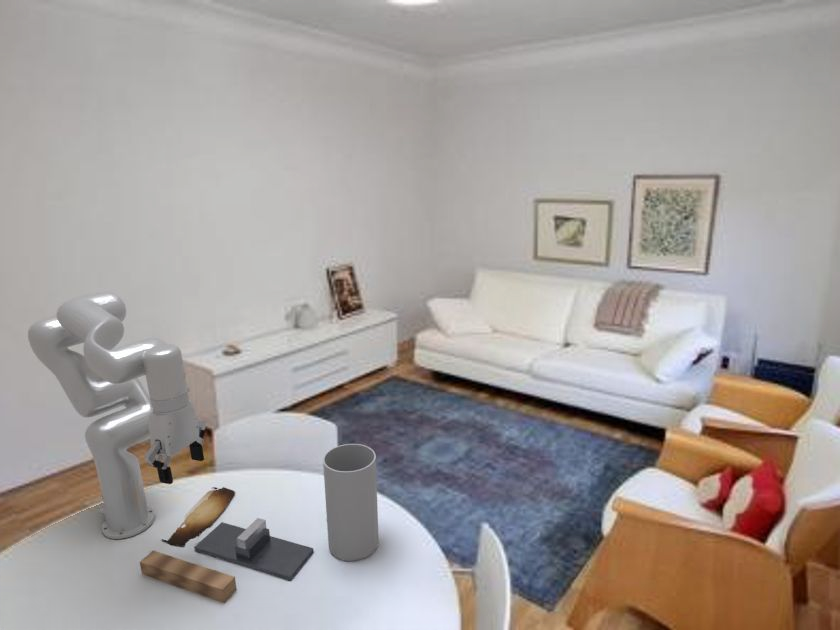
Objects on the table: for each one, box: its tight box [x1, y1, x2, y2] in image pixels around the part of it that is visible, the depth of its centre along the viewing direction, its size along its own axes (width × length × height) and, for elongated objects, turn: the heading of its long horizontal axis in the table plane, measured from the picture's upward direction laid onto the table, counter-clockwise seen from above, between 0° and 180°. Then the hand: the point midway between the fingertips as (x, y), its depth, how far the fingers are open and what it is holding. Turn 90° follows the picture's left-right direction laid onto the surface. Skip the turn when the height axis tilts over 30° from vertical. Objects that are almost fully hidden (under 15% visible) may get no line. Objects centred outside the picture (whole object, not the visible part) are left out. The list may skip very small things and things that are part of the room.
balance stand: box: [193, 517, 315, 582], centre depth 133 cm, size 28×10×7 cm, turn 69°
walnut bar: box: [139, 550, 238, 604], centre depth 124 cm, size 24×4×4 cm, turn 69°
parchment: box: [161, 486, 236, 547], centre depth 148 cm, size 25×10×1 cm, turn 168°
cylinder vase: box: [322, 443, 379, 562], centre depth 133 cm, size 12×12×25 cm
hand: (182, 470), depth 122 cm, fingers open, 9 cm apart
